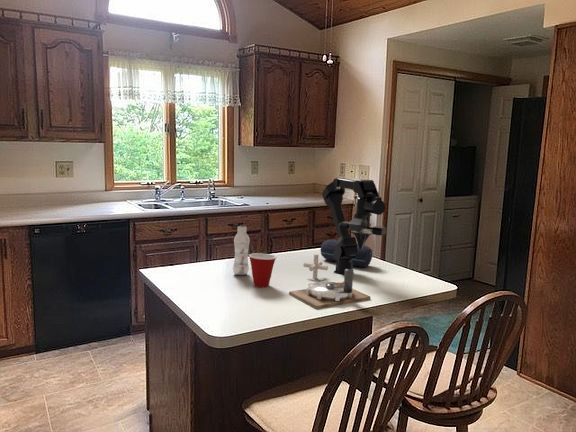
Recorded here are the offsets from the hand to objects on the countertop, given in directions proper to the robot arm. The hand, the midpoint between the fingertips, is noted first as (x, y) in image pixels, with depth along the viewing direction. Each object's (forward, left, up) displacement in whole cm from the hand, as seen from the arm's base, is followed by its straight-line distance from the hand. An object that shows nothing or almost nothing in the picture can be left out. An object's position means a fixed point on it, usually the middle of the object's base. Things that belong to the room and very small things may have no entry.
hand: (360, 249), depth 196 cm
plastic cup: (-26, -32, -13) cm, 43 cm away
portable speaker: (-16, +22, -13) cm, 30 cm away
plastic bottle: (-41, -26, -13) cm, 50 cm away
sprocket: (+1, -27, -12) cm, 30 cm away
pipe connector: (-15, -10, -13) cm, 22 cm away
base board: (+1, -27, -13) cm, 30 cm away
